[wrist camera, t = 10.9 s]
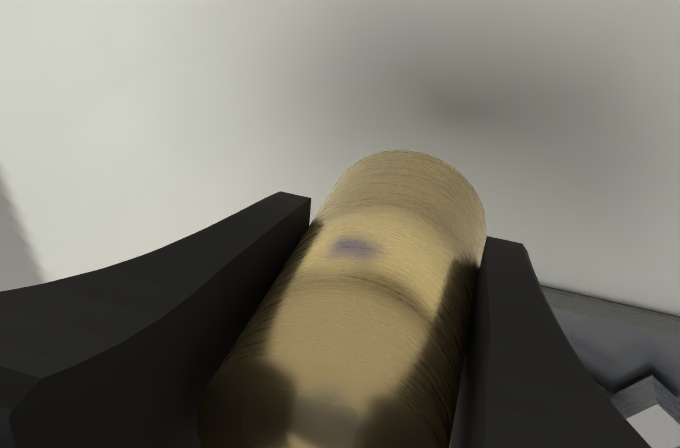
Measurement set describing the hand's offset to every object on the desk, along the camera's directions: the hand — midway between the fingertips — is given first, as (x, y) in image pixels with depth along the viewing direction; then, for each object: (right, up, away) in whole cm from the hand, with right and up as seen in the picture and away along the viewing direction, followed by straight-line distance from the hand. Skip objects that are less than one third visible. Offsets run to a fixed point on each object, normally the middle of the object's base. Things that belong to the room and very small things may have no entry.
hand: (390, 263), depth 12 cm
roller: (0, +1, +1) cm, 1 cm away
